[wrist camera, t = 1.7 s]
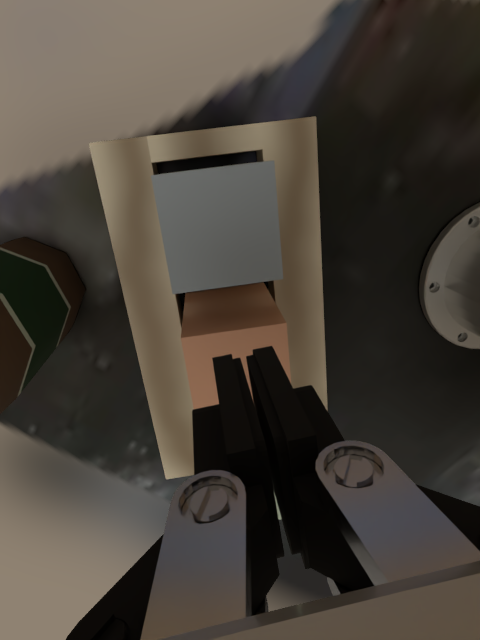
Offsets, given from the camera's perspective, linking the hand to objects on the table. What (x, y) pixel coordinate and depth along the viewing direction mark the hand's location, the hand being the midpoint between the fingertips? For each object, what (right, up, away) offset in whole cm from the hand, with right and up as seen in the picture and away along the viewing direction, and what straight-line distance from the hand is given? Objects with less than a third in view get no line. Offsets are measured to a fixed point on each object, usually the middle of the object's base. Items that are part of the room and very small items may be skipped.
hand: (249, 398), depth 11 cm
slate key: (-2, +9, +15) cm, 18 cm away
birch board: (-1, +3, +21) cm, 21 cm away
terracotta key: (-1, +2, +18) cm, 18 cm away
